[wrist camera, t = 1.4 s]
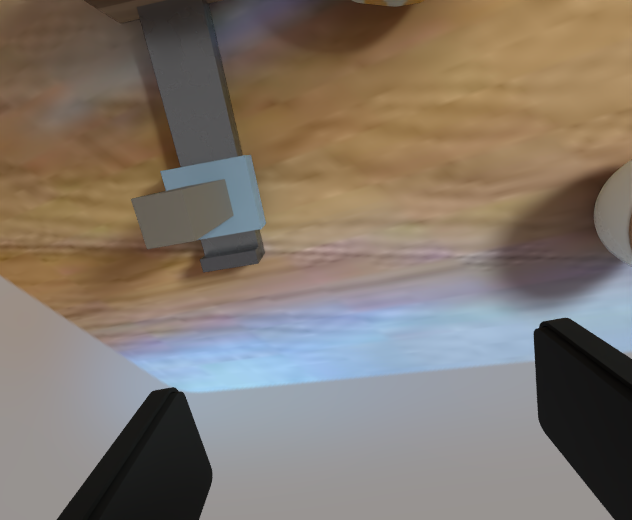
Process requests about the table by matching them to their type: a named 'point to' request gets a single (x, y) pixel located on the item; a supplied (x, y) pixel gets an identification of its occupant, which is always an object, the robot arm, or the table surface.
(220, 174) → the carriage
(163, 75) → the rail
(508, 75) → the table surface
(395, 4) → the nautilus
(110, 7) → the end cabinet
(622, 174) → the lidded jar
